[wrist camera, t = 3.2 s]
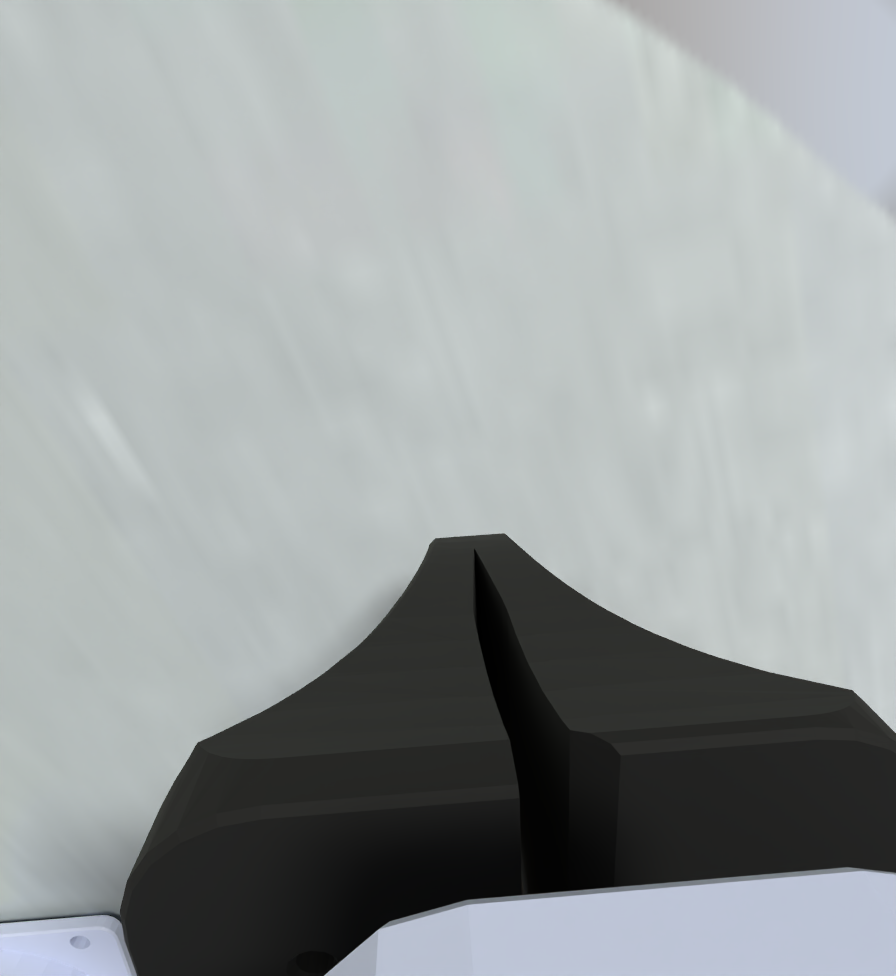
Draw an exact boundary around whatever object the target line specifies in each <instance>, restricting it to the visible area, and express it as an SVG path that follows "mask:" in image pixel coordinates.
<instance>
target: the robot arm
mask: <svg viewBox="0 0 896 976" xmlns="http://www.w3.org/2000/svg"><path fill="white" fill-rule="evenodd" d="M521 876H522V881H521ZM522 883H523V890H524V895H522ZM120 915H121V922H122V924H121V923H120V921H119V920H117V919H116V918H115V917H112V916H109V915H95V916H83V917H71V918H59V919H48V920H36V921H24V922H12V923H1V924H0V976H896V733H895V732H894V731H893V730H892V729H891V728H890V727H889V726H888V725H887V724H886V723H885V722H884V721H883V720H882V719H881V718H880V717H879V716H878V715H877V714H876V713H875V712H874V711H873V710H872V709H871V708H870V707H869V706H868V705H867V704H866V703H865V702H864V701H863V700H862V699H861V698H860V697H859V696H858V695H857V694H856V693H854V692H853V691H852V690H849V689H844V688H839V687H835V686H830V685H826V684H821V683H816V682H812V681H807V680H802V679H798V678H793V677H789V676H784V675H779V674H775V673H770V672H766V671H763V670H759V669H755V668H752V667H749V666H745V665H742V664H738V663H735V662H732V661H728V660H725V659H721V658H718V657H715V656H712V655H709V654H706V653H703V652H700V651H698V650H695V649H692V648H689V647H686V646H684V645H681V644H679V643H677V642H674V641H672V640H669V639H667V638H664V637H662V636H659V635H657V634H654V633H652V632H650V631H648V630H645V629H643V628H641V627H639V626H637V625H634V624H633V623H631V622H629V621H627V620H625V619H623V618H621V617H619V616H617V615H615V614H613V613H612V612H610V611H608V610H606V609H604V608H602V607H601V606H599V605H597V604H596V603H594V602H592V601H591V600H589V599H588V598H586V597H585V596H583V595H582V594H580V593H579V592H577V591H575V590H574V589H572V588H571V587H569V586H568V585H567V584H565V583H564V582H562V581H561V580H560V579H558V578H557V577H556V576H554V575H553V574H552V573H550V572H549V571H548V570H547V569H545V568H544V567H543V566H542V565H540V564H539V563H538V562H537V561H535V560H534V559H533V558H532V557H531V556H530V555H528V554H527V553H526V552H525V551H524V550H523V549H522V548H520V547H519V546H518V545H517V544H516V543H515V542H514V541H513V540H511V539H510V538H509V537H508V536H507V535H506V534H490V535H476V536H462V537H449V538H435V539H434V540H433V542H432V543H431V544H430V545H429V548H428V551H427V553H426V556H425V558H424V560H423V562H422V564H421V565H420V567H419V569H418V571H417V573H416V574H415V576H414V577H413V579H412V581H411V582H410V584H409V585H408V587H407V589H406V590H405V592H404V593H403V594H402V596H401V597H400V598H399V600H398V601H397V602H396V604H395V605H394V606H393V608H392V609H391V610H390V612H389V613H388V614H387V615H386V617H385V618H384V619H383V620H382V621H381V623H380V624H379V625H378V626H377V627H376V628H375V629H374V630H373V631H372V633H371V634H370V635H369V636H368V637H367V638H366V639H365V640H364V641H363V642H362V643H361V644H360V645H359V646H358V647H356V648H355V649H354V650H353V651H351V652H350V653H349V654H348V655H346V656H345V657H344V658H343V659H341V660H340V661H339V662H338V663H336V664H335V665H334V666H333V667H331V668H330V669H329V670H328V671H326V672H325V673H324V674H322V675H321V676H320V677H318V678H317V679H315V680H314V681H312V682H311V683H309V684H308V685H306V686H305V687H303V688H302V689H300V690H299V691H297V692H295V693H294V694H292V695H290V696H289V697H287V698H285V699H284V700H282V701H280V702H279V703H277V704H275V705H274V706H272V707H270V708H268V709H266V710H264V711H263V712H261V713H259V714H257V715H255V716H253V717H251V718H249V719H247V720H245V721H242V722H240V723H238V724H236V725H234V726H232V727H230V728H228V729H226V730H224V731H222V732H220V733H218V734H216V735H214V736H212V737H209V738H207V739H205V740H203V741H200V742H198V743H197V745H196V746H195V748H194V750H193V752H192V753H191V755H190V757H189V759H188V760H187V762H186V764H185V765H184V767H183V768H182V770H181V772H180V773H179V775H178V776H177V778H176V780H175V781H174V783H173V785H172V787H171V789H170V791H169V793H168V795H167V796H166V798H165V800H164V802H163V804H162V806H161V808H160V810H159V812H158V814H157V817H156V819H155V821H154V823H153V825H152V828H151V830H150V832H149V834H148V836H147V839H146V841H145V843H144V845H143V847H142V850H141V852H140V854H139V856H138V858H137V861H136V863H135V865H134V867H133V869H132V872H131V874H130V876H129V878H128V880H127V884H126V888H125V892H124V896H123V900H122V904H121V909H120Z"/></svg>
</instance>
